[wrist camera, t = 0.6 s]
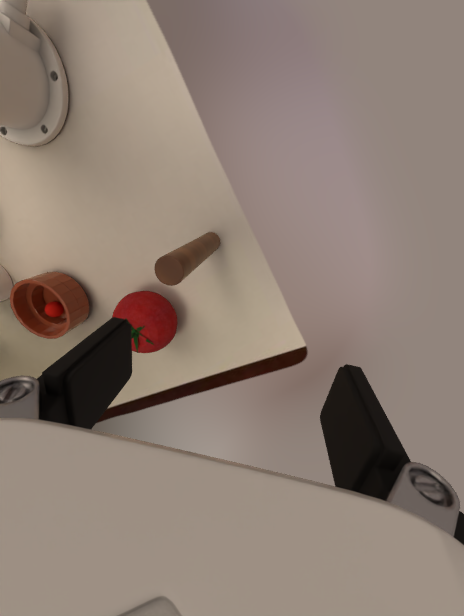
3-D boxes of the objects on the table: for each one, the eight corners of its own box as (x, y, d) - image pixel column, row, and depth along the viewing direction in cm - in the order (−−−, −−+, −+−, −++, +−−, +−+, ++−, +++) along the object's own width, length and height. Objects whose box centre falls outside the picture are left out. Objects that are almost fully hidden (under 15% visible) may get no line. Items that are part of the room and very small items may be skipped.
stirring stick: (207, 228, 33) (161, 249, 19) (223, 238, 33) (189, 266, 20) (199, 244, 34) (149, 275, 20) (214, 254, 34) (176, 291, 21)
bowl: (45, 259, 38) (14, 267, 34) (99, 290, 39) (76, 302, 34) (34, 305, 42) (5, 318, 37) (84, 333, 43) (61, 349, 38)
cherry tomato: (54, 296, 40) (42, 302, 37) (68, 304, 40) (57, 310, 38) (51, 308, 41) (39, 314, 38) (65, 315, 41) (53, 322, 39)
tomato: (196, 318, 38) (178, 346, 31) (156, 346, 41) (131, 377, 34) (156, 272, 36) (127, 290, 29) (118, 304, 39) (82, 328, 32)
